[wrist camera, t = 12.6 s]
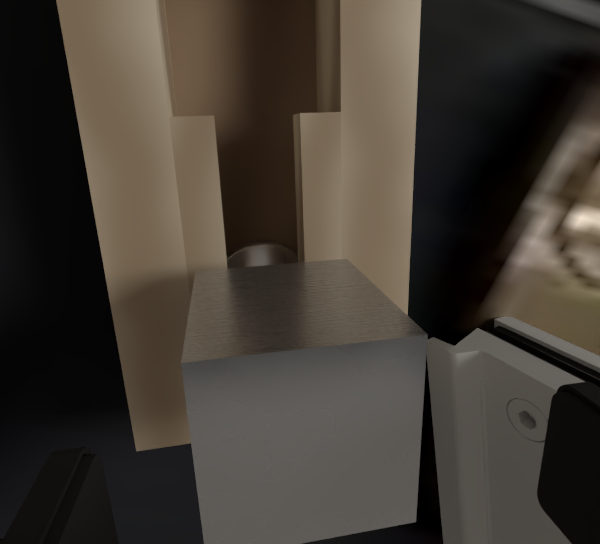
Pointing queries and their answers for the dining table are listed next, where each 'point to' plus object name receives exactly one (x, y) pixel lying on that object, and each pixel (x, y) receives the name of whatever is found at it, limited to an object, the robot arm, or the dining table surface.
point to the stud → (300, 399)
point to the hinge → (498, 428)
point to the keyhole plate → (237, 155)
